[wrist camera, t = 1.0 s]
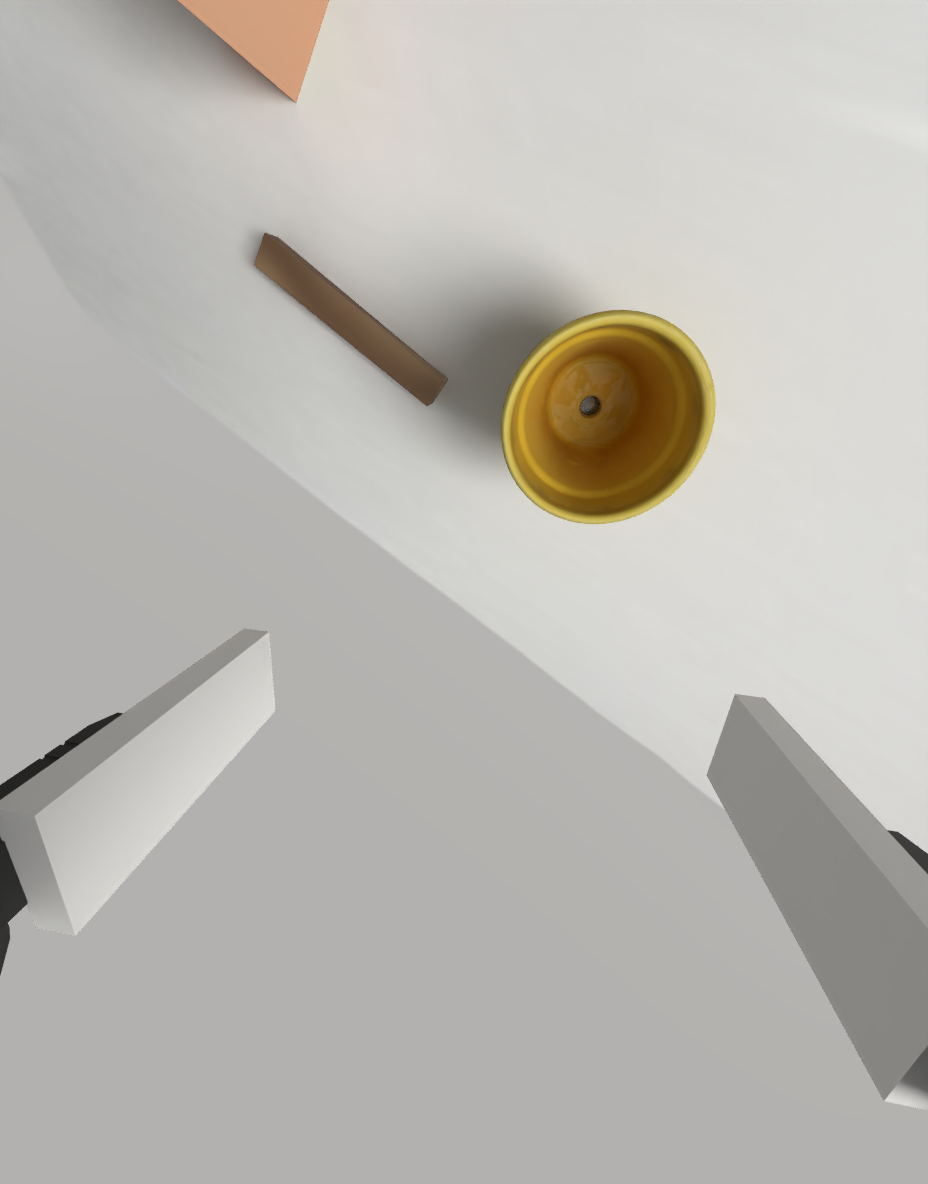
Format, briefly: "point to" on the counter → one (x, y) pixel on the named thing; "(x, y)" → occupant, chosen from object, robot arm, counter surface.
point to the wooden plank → (348, 319)
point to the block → (267, 34)
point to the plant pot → (608, 417)
